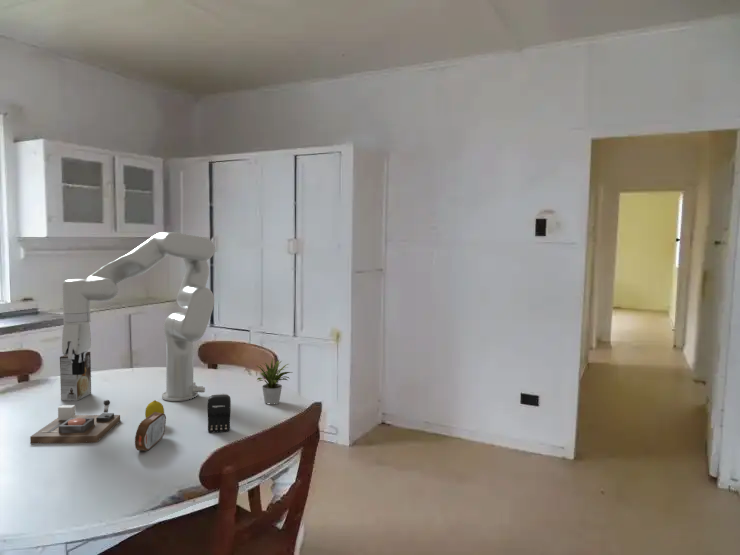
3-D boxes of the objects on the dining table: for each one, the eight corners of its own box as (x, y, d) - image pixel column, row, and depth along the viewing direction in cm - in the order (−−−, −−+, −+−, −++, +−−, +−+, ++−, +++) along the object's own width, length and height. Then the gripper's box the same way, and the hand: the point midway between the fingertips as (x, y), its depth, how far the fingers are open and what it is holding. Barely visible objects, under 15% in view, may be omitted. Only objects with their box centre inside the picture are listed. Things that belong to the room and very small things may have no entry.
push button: (88, 424, 158) (88, 418, 158) (81, 430, 154) (81, 423, 153) (72, 424, 158) (72, 418, 158) (65, 430, 153) (64, 423, 153)
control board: (120, 420, 168) (120, 408, 168) (96, 442, 151) (96, 429, 150) (61, 421, 167) (61, 409, 166) (30, 443, 149) (30, 429, 149)
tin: (157, 435, 158) (157, 407, 157) (168, 435, 158) (167, 408, 157) (133, 455, 143) (133, 425, 142) (145, 456, 143) (144, 425, 142)
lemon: (167, 423, 167) (167, 399, 167) (155, 429, 162) (155, 404, 162) (153, 421, 169) (153, 396, 169) (141, 426, 164) (141, 401, 163)
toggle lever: (109, 412, 165) (111, 399, 166) (107, 412, 163) (109, 399, 164) (103, 412, 165) (105, 400, 166) (101, 412, 163) (103, 399, 164)
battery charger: (206, 434, 159) (206, 397, 158) (207, 429, 163) (207, 393, 162) (230, 433, 161) (230, 396, 160) (230, 428, 164) (231, 393, 163)
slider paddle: (75, 417, 164) (75, 405, 164) (71, 420, 162) (71, 407, 162) (62, 417, 164) (61, 405, 164) (58, 420, 162) (58, 407, 161)
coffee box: (75, 393, 196) (74, 350, 195) (91, 393, 196) (91, 351, 195) (60, 400, 187) (59, 356, 186) (77, 401, 187) (77, 356, 186)
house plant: (261, 412, 180) (262, 366, 179) (242, 402, 190) (243, 358, 189) (296, 404, 189) (297, 360, 188) (276, 395, 200) (277, 353, 198)
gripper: (76, 314, 174) (77, 368, 176) (52, 321, 159) (54, 380, 161) (99, 314, 175) (100, 368, 176) (78, 321, 160) (79, 380, 161)
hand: (78, 374), depth 168 cm, fingers closed
